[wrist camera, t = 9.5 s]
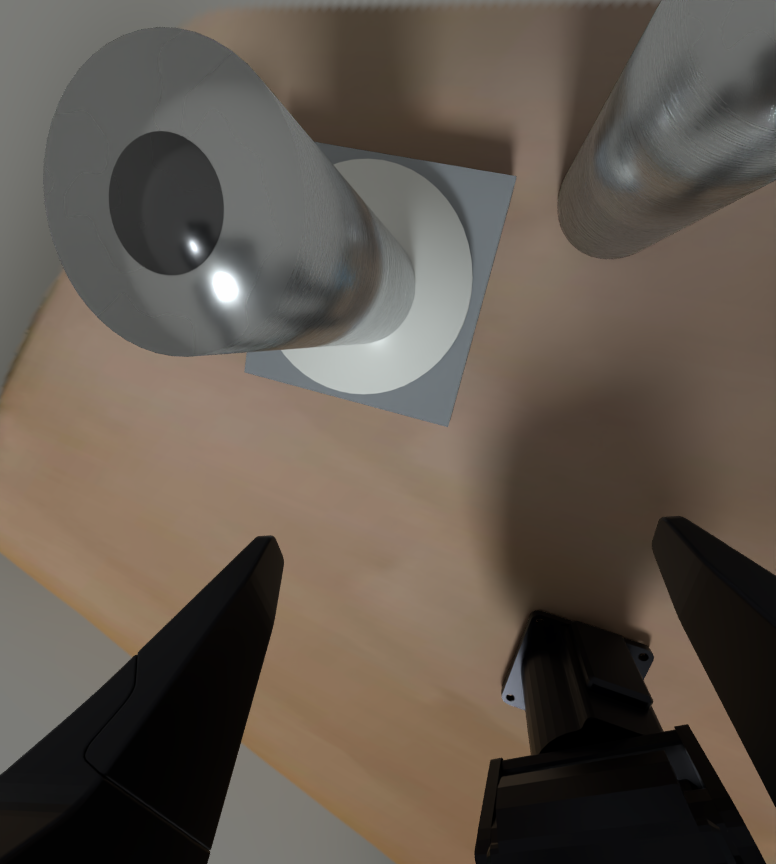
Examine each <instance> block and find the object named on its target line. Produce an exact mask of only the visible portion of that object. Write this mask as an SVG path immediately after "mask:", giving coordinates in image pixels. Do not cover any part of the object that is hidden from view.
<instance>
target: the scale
mask: <svg viewBox="0 0 776 864" xmlns="http://www.w3.org/2000/svg"><path fill="white" fill-rule="evenodd" d="M314 143H315V144H316V145H317V146H318V147H319V148H320V150H321V151H322V152H323V153H324V154H325V156H326V157H327V158H328V159H329V160H330V162H331V163H332V164H333V165H334V166H335V167H336V169H337V170H338V171H339V172H340V173H341V175H342V176H343V177H344V178H345V179H346V180H347V182H348V183H349V184H350V185H351V186H352V188H353V189H354V190H355V191H356V192H357V194H358V195H359V196H360V197H361V198H362V199H363V201H364V202H365V203H366V204H367V205H368V207H369V208H370V209H371V210H372V211H373V212H374V214H375V215H376V216H377V217H378V218H379V220H380V221H381V222H382V223H383V224H384V226H385V227H386V228H387V229H388V230H389V231H390V233H391V234H392V235H393V236H394V237H395V239H396V240H397V241H398V242H399V243H400V244H401V246H402V247H403V248H404V250H405V251H406V253H407V254H408V256H409V258H410V260H411V263H412V266H413V270H414V274H415V295H414V300H413V304H412V307H411V309H410V312H409V314H408V315H407V317H406V319H405V320H404V322H403V323H402V324H401V326H400V327H399V328H398V329H397V330H396V331H395V332H393V333H392V334H391V335H389V336H387V337H386V338H384V339H382V340H379V341H377V342H373V343H367V344H355V345H341V346H327V347H313V348H300V349H286V350H272V351H258V352H247V356H246V364H245V372H246V373H249V374H253V375H257V376H260V377H264V378H268V379H272V380H275V381H279V382H283V383H286V384H290V385H294V386H298V387H301V388H305V389H309V390H312V391H316V392H320V393H323V394H327V395H331V396H335V397H338V398H342V399H346V400H349V401H353V402H357V403H361V404H364V405H368V406H372V407H375V408H379V409H383V410H387V411H390V412H394V413H398V414H401V415H405V416H409V417H413V418H416V419H420V420H424V421H427V422H431V423H435V424H438V425H442V426H446V427H448V425H449V422H450V419H451V415H452V412H453V408H454V404H455V401H456V397H457V393H458V390H459V386H460V382H461V379H462V375H463V371H464V368H465V364H466V361H467V357H468V353H469V350H470V346H471V342H472V339H473V335H474V331H475V328H476V324H477V321H478V317H479V313H480V310H481V306H482V302H483V299H484V295H485V291H486V288H487V284H488V280H489V277H490V273H491V270H492V266H493V262H494V259H495V255H496V251H497V248H498V244H499V240H500V237H501V233H502V229H503V226H504V222H505V219H506V215H507V211H508V208H509V204H510V200H511V197H512V193H513V189H514V185H515V181H516V177H517V176H512V175H506V174H500V173H494V172H488V171H483V170H477V169H471V168H465V167H459V166H453V165H447V164H441V163H436V162H430V161H424V160H418V159H412V158H406V157H400V156H395V155H389V154H383V153H377V152H371V151H365V150H359V149H353V148H348V147H342V146H336V145H330V144H324V143H318V142H314Z"/></svg>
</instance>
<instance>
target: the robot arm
mask: <svg viewBox="0 0 776 864" xmlns="http://www.w3.org/2000/svg"><path fill="white" fill-rule="evenodd" d="M652 550H653V553H654V556H655V559H656V561H657V564H658V566H659V569H660V572H661V574H662V577H663V579H664V582H665V585H666V587H667V590H668V592H669V595H670V598H671V600H672V603H673V605H674V608H675V610H676V613H677V615H678V618H679V620H680V622H681V624H682V626H683V628H684V630H685V632H686V634H687V636H688V638H689V640H690V642H691V644H692V646H693V648H694V649H695V651H696V653H697V655H698V657H699V659H700V661H701V663H702V665H703V667H704V669H705V671H706V673H707V675H708V677H709V679H710V681H711V683H712V685H713V686H714V688H715V690H716V692H717V694H718V696H719V698H720V700H721V702H722V704H723V706H724V708H725V710H726V712H727V714H728V716H729V718H730V720H731V722H732V723H733V725H734V727H735V729H736V731H737V733H738V735H739V737H740V739H741V741H742V743H743V745H744V747H745V749H746V751H747V753H748V755H749V757H750V759H751V760H752V762H753V764H754V766H755V768H756V770H757V772H758V774H759V776H760V778H761V780H762V782H763V784H764V786H765V788H766V790H767V792H768V794H769V795H770V797H771V799H772V801H773V803H774V805H775V807H776V576H775V575H774V574H772V573H771V572H769V571H768V570H766V569H765V568H763V567H761V566H760V565H758V564H757V563H755V562H754V561H752V560H750V559H749V558H747V557H746V556H744V555H743V554H741V553H739V552H738V551H736V550H735V549H733V548H732V547H730V546H728V545H727V544H725V543H724V542H722V541H721V540H719V539H717V538H716V537H714V536H713V535H711V534H710V533H708V532H706V531H705V530H703V529H702V528H700V527H699V526H697V525H696V524H694V523H692V522H691V521H689V520H688V519H686V518H684V517H681V516H671V517H662V518H661V519H660V520H659V522H658V525H657V528H656V531H655V534H654V537H653V540H652ZM283 567H284V559H283V555H282V553H281V550H280V548H279V546H278V543H277V541H276V539H275V537H274V536H271V535H270V536H258V537H256V538H255V539H254V540H253V541H252V542H251V543H250V544H249V545H248V546H247V547H245V548H244V549H243V550H242V551H241V552H240V553H239V554H238V555H237V556H236V557H235V558H234V559H233V560H232V561H231V562H230V563H229V564H228V565H227V566H226V567H225V568H224V569H223V570H222V571H221V572H220V573H219V574H218V575H217V576H216V577H215V578H214V579H213V580H212V581H211V582H210V583H208V584H207V585H206V586H205V587H204V588H203V589H202V590H201V591H200V592H199V593H198V594H197V595H196V596H195V597H194V598H193V599H192V600H191V601H190V602H189V603H188V604H187V605H186V606H185V607H184V608H183V609H182V610H181V611H180V612H179V613H178V614H177V615H176V616H175V617H174V618H173V619H172V620H170V621H169V622H168V623H167V624H166V625H165V626H164V627H163V628H162V629H161V630H160V631H159V632H158V633H157V634H156V635H155V636H154V637H153V638H152V639H151V640H150V641H149V642H148V643H147V644H146V645H145V646H144V647H143V648H142V649H141V650H140V651H139V652H138V655H135V656H133V657H132V658H131V660H129V661H128V662H127V663H126V664H125V665H124V666H123V667H122V668H121V669H120V670H119V671H118V672H117V673H116V674H115V675H114V676H113V677H112V678H111V679H110V680H108V681H107V682H106V683H105V684H104V685H103V686H102V687H101V688H100V689H99V690H98V691H97V692H96V693H95V694H94V695H92V696H91V697H90V698H89V699H88V700H87V701H85V702H84V703H83V704H82V705H81V706H80V707H79V708H77V709H76V710H75V711H74V712H73V713H72V714H71V715H70V716H68V717H67V718H66V719H65V720H64V721H63V722H62V723H61V724H59V725H58V726H57V727H56V728H55V729H53V730H52V731H51V732H50V733H49V734H48V735H46V736H45V737H44V738H43V739H42V740H41V741H39V742H38V743H37V744H36V745H35V746H34V747H33V748H31V749H30V750H29V751H28V752H27V753H26V754H25V755H23V756H22V757H21V758H20V759H18V760H17V761H16V762H15V763H14V764H13V765H12V766H10V767H9V768H8V769H7V770H6V771H5V772H3V773H2V774H1V775H0V864H207V863H208V859H209V855H210V851H209V850H211V848H212V844H213V840H214V837H215V833H216V829H217V826H218V822H219V819H220V815H221V812H222V808H223V805H224V801H225V797H226V794H227V790H228V787H229V783H230V780H231V776H232V772H233V769H234V765H235V762H236V758H237V755H238V751H239V747H240V744H241V740H242V737H243V733H244V730H245V726H246V722H247V719H248V715H249V712H250V708H251V705H252V701H253V697H254V694H255V690H256V687H257V683H258V680H259V676H260V672H261V669H262V665H263V662H264V658H265V654H266V651H267V647H268V644H269V640H270V637H271V633H272V629H273V625H274V620H275V615H276V609H277V603H278V597H279V591H280V585H281V579H282V573H283ZM537 619H542V620H543V621H542V622H537V621H536V620H537ZM641 653H645V654H644V655H642V656H639V654H641ZM653 659H654V656H653V653H652V652H651V650H650V648H649V647H648V646H646V645H644V644H641V643H638V642H635V641H632V640H629V639H626V638H623V637H622V636H621V635H618V634H615V633H612V632H609V631H606V630H603V629H600V628H597V627H594V626H591V625H588V624H585V623H582V622H579V621H571V620H568V619H565V618H562V617H559V616H556V615H553V614H550V613H547V612H544V611H539V610H537V611H534V612H532V613H531V615H530V617H529V619H528V622H527V625H526V627H525V630H524V632H523V635H522V638H521V640H520V643H519V645H518V648H517V651H516V653H515V656H514V658H513V661H512V664H511V666H510V669H509V671H508V674H507V677H506V679H505V682H504V684H503V687H502V691H501V694H502V699H503V701H504V702H505V703H507V704H509V705H512V706H514V707H517V708H520V709H523V710H525V712H526V720H527V728H528V736H529V744H530V752H531V755H530V756H524V757H519V758H513V759H507V760H503V759H502V758H498V759H492V760H491V761H490V766H489V771H488V777H487V782H486V788H485V793H484V799H483V805H482V810H481V816H480V821H479V827H478V834H477V840H476V846H475V862H476V864H766V863H765V861H764V859H763V857H762V855H761V853H760V851H759V849H758V847H757V845H756V844H755V842H754V840H753V838H752V836H751V834H750V832H749V830H748V829H747V827H746V825H745V823H744V821H743V819H742V817H741V816H740V814H739V812H738V810H737V808H736V807H735V805H734V803H733V801H732V800H731V798H730V796H729V794H728V793H727V791H726V789H725V787H724V786H723V784H722V782H721V780H720V779H719V777H718V775H717V774H716V772H715V770H714V768H713V767H712V765H711V763H710V762H709V760H708V758H707V756H706V755H705V753H704V751H703V749H702V748H701V746H700V744H699V743H698V741H697V739H696V737H695V736H694V734H693V732H692V731H691V729H690V727H689V725H688V724H686V725H681V726H675V730H670V731H665V732H664V731H663V729H662V727H661V725H660V723H659V721H658V719H657V716H656V714H655V712H654V710H653V708H652V706H651V705H652V704H653V699H652V697H651V695H650V693H649V691H648V689H647V687H646V685H645V682H644V678H645V676H646V674H647V672H648V670H649V668H650V666H651V664H652V662H653ZM508 694H512V696H509V695H508Z"/></svg>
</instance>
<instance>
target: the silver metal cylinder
mask: <svg viewBox="0 0 776 864" xmlns="http://www.w3.org/2000/svg"><path fill="white" fill-rule="evenodd" d="M43 184H44V200H45V207H46V214H47V220H48V224H49V228H50V232H51V236H52V240H53V243H54V245H55V248H56V251H57V254H58V257H59V259H60V261H61V264H62V266H63V268H64V270H65V272H66V274H67V276H68V278H69V280H70V281H71V283H72V285H73V286H74V288H75V290H76V291H77V293H78V294H79V296H80V297H81V298H82V300H83V301H84V302H85V304H86V305H87V306H88V307H89V309H90V310H91V311H92V312H93V313H94V314H95V315H96V316H97V317H98V318H99V319H100V320H101V321H102V322H103V323H104V324H105V325H107V326H108V327H109V328H110V329H111V330H112V331H114V332H115V333H117V334H118V335H120V336H121V337H123V338H124V339H126V340H127V341H129V342H131V343H133V344H135V345H137V346H139V347H141V348H144V349H146V350H149V351H152V352H155V353H159V354H164V355H170V356H184V357H189V356H203V355H217V354H231V353H244V352H258V351H272V350H286V349H300V348H313V347H327V346H341V345H355V344H367V343H373V342H377V341H379V340H382V339H384V338H386V337H387V336H389V335H391V334H392V333H393V332H395V331H396V330H397V329H398V328H399V327H400V326H401V324H402V323H403V322H404V320H405V319H406V317H407V315H408V314H409V312H410V309H411V307H412V304H413V300H414V295H415V274H414V270H413V266H412V263H411V260H410V258H409V256H408V254H407V253H406V251H405V250H404V248H403V247H402V246H401V244H400V243H399V242H398V241H397V240H396V239H395V237H394V236H393V235H392V234H391V233H390V231H389V230H388V229H387V228H386V227H385V226H384V224H383V223H382V222H381V221H380V220H379V218H378V217H377V216H376V215H375V214H374V212H373V211H372V210H371V209H370V208H369V207H368V205H367V204H366V203H365V202H364V201H363V199H362V198H361V197H360V196H359V195H358V194H357V192H356V191H355V190H354V189H353V188H352V186H351V185H350V184H349V183H348V182H347V180H346V179H345V178H344V177H343V176H342V175H341V173H340V172H339V171H338V170H337V169H336V167H335V166H334V165H333V164H332V163H331V162H330V160H329V159H328V158H327V157H326V156H325V154H324V153H323V152H322V151H321V150H320V148H319V147H318V146H317V145H316V144H315V143H314V141H313V140H312V139H311V138H310V137H309V135H308V134H307V133H306V132H305V131H304V130H303V128H302V127H301V126H300V125H299V124H298V122H297V121H296V120H295V119H294V118H293V116H292V115H291V114H290V113H289V112H288V111H287V109H286V108H285V107H284V106H283V105H282V103H281V102H280V101H279V100H278V99H277V98H276V96H275V95H274V94H273V93H272V92H271V90H270V89H269V88H268V87H267V86H266V84H265V83H264V82H263V81H262V80H261V79H260V78H259V76H258V75H257V74H256V73H255V72H254V71H253V70H252V69H251V67H250V66H249V65H248V64H247V63H246V62H244V61H243V60H242V59H241V58H240V57H238V56H237V55H236V54H235V53H234V52H233V51H231V50H230V49H228V48H226V47H225V46H223V45H222V44H220V43H218V42H217V41H215V40H213V39H211V38H209V37H206V36H204V35H201V34H199V33H196V32H193V31H188V30H184V29H179V28H167V27H166V28H165V27H155V28H148V29H141V30H137V31H134V32H132V33H128V34H125V35H123V36H121V37H119V38H117V39H115V40H113V41H111V42H109V43H108V44H106V45H105V46H103V47H102V48H101V49H100V50H98V51H97V52H96V53H94V54H93V55H92V56H91V57H90V58H89V59H88V60H87V61H86V62H85V63H84V64H83V65H82V67H81V68H80V69H79V70H78V71H77V73H76V74H75V75H74V77H73V78H72V80H71V81H70V83H69V84H68V86H67V88H66V89H65V91H64V93H63V95H62V97H61V99H60V101H59V103H58V106H57V109H56V111H55V114H54V116H53V119H52V122H51V126H50V130H49V134H48V138H47V144H46V151H45V158H44V178H43Z"/></svg>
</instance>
